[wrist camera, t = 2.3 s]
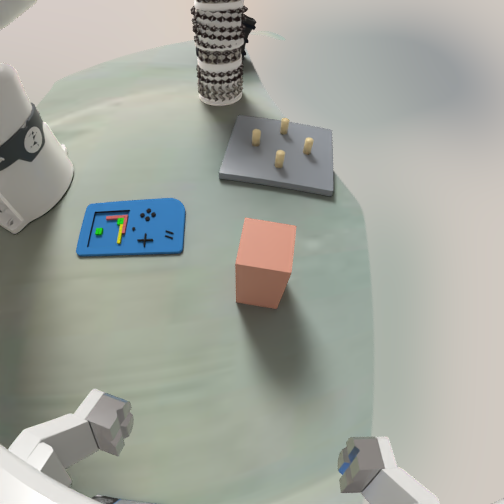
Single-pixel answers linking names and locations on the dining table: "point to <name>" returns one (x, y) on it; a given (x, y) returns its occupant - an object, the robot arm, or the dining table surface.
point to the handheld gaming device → (132, 228)
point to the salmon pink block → (264, 262)
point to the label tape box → (115, 500)
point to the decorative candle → (219, 49)
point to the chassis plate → (280, 155)
